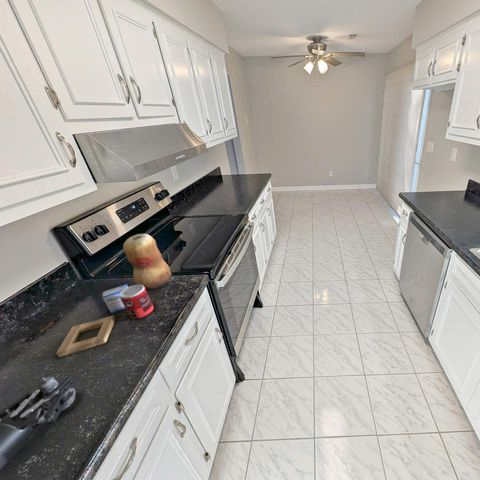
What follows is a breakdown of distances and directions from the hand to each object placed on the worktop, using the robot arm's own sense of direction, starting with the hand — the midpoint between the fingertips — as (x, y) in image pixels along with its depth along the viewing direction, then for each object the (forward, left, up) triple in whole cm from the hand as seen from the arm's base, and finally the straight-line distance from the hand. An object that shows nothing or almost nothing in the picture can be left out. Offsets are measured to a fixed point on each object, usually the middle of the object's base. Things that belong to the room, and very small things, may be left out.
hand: (64, 378), depth 67 cm
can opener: (-22, +36, -6) cm, 43 cm away
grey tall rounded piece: (-1, -3, -7) cm, 8 cm away
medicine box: (+3, +38, -7) cm, 39 cm away
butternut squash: (+14, +48, -7) cm, 51 cm away
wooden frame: (-4, +24, -7) cm, 26 cm away
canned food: (+11, +30, -7) cm, 33 cm away
